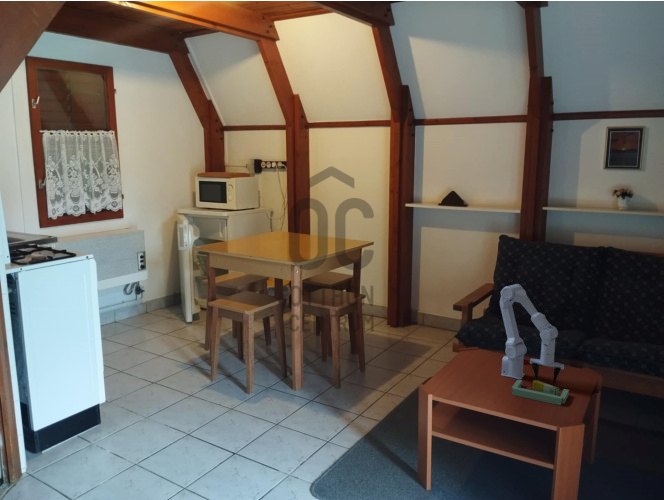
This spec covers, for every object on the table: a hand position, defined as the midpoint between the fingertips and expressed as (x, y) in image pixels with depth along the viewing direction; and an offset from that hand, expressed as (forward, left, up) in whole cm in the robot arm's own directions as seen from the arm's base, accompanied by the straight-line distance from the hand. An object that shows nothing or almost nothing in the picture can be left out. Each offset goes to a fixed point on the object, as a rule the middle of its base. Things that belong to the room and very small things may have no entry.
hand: (545, 381), depth 255 cm
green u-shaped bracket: (0, -13, -2) cm, 14 cm away
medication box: (+2, -9, -2) cm, 9 cm away
